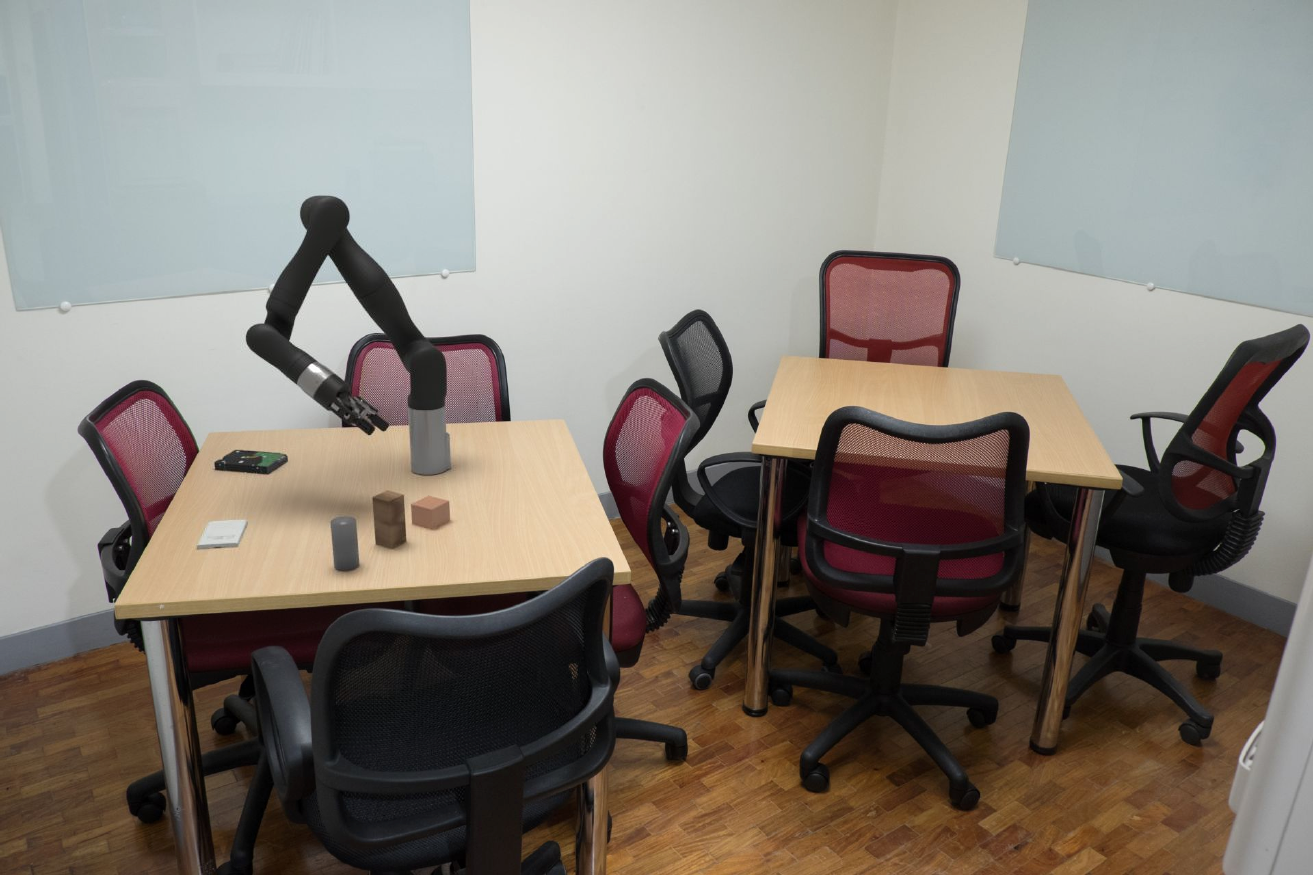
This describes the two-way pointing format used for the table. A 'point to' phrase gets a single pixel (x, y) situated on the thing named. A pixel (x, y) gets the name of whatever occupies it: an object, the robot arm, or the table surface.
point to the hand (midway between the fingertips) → (380, 430)
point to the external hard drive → (222, 534)
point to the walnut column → (389, 519)
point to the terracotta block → (430, 512)
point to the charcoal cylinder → (345, 543)
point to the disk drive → (251, 462)
